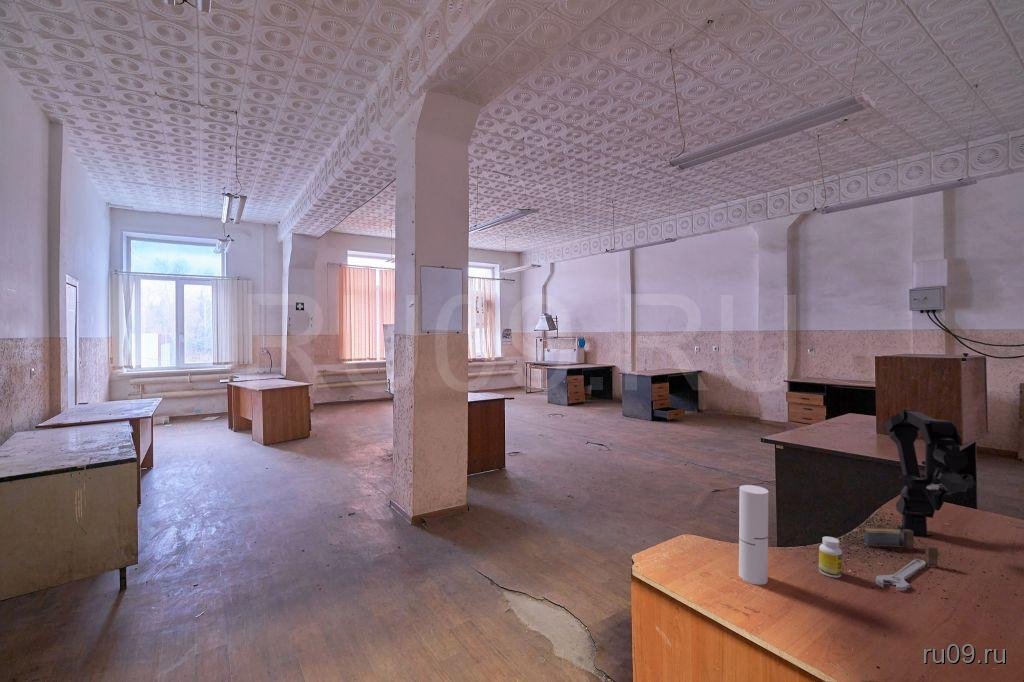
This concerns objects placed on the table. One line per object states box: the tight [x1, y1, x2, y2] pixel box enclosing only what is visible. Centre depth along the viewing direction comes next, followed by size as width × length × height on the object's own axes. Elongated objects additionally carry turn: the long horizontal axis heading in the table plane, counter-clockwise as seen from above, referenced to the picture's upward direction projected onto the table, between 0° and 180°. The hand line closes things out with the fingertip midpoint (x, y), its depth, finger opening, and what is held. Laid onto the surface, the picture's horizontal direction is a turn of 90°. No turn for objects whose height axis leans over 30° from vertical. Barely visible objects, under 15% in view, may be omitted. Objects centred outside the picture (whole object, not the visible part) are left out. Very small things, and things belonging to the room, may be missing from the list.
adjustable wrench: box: [875, 558, 927, 591], centre depth 129 cm, size 25×6×2 cm, turn 117°
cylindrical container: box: [738, 484, 769, 586], centre depth 128 cm, size 7×7×25 cm
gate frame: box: [902, 529, 939, 567], centre depth 141 cm, size 14×3×6 cm, turn 166°
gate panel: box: [864, 528, 904, 547], centre depth 147 cm, size 11×2×5 cm, turn 84°
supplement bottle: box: [818, 536, 843, 579], centre depth 131 cm, size 5×5×10 cm
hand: (936, 510), depth 144 cm, fingers closed
